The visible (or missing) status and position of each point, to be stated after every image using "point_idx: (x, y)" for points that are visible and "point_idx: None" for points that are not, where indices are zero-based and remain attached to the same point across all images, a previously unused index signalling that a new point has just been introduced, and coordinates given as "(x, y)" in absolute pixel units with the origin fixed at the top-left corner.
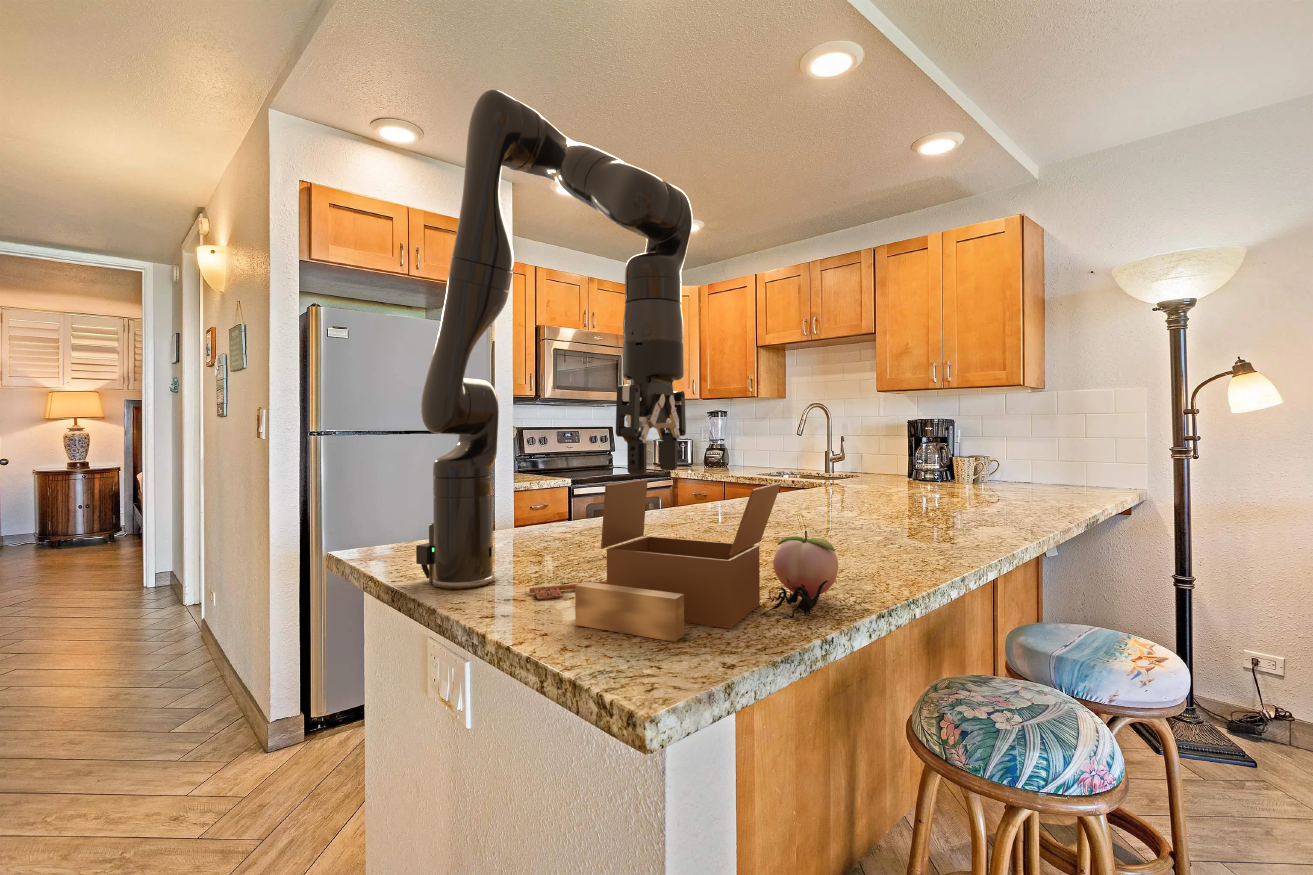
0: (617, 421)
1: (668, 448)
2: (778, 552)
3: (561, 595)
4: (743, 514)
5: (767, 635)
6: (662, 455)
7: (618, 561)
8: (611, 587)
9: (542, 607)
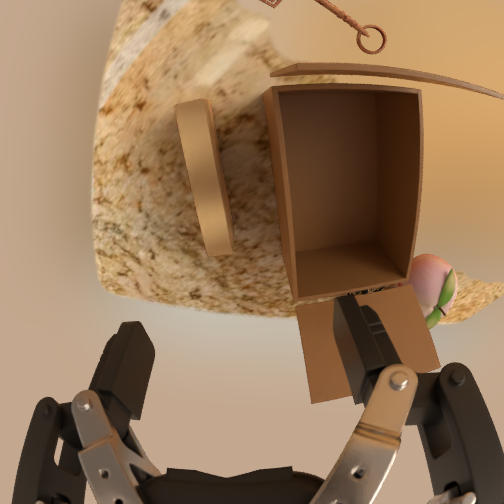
0: (31, 434)
1: (352, 371)
2: (425, 279)
3: (273, 7)
4: (305, 364)
5: (284, 287)
6: (348, 335)
7: (272, 112)
8: (198, 155)
9: (221, 17)
